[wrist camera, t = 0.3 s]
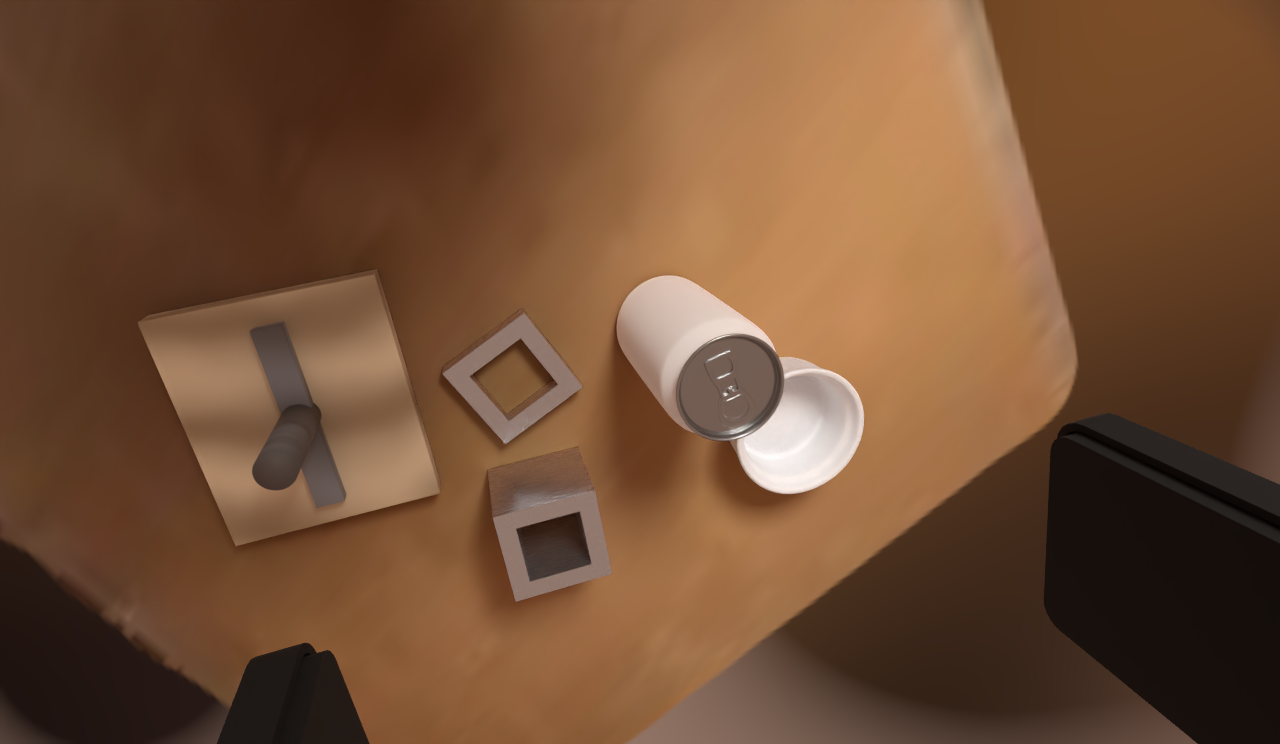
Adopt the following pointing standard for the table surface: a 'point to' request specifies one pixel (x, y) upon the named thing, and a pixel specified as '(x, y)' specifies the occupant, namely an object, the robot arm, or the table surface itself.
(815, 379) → the ramekin
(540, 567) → the link
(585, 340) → the table surface
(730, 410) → the can
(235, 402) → the base
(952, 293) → the table surface
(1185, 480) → the robot arm
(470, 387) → the link
